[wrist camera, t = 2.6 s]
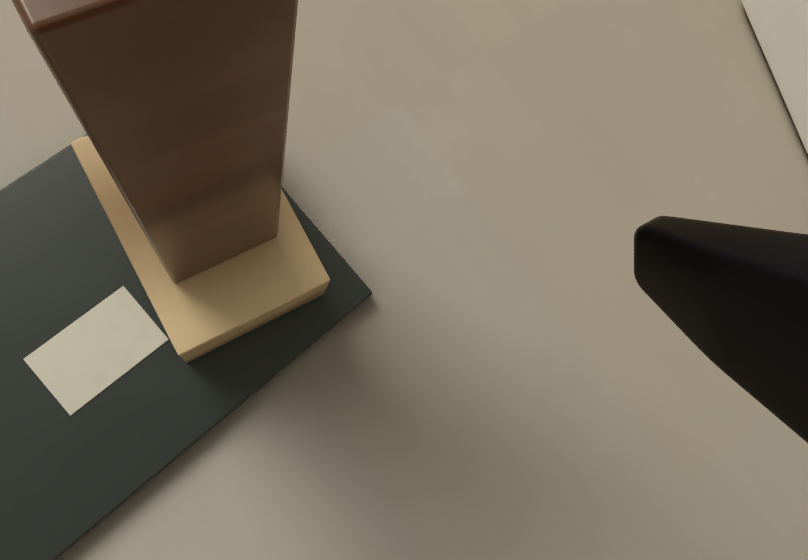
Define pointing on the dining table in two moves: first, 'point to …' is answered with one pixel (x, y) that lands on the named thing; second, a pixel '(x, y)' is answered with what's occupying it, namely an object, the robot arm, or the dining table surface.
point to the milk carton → (785, 51)
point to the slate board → (109, 362)
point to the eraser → (188, 152)
